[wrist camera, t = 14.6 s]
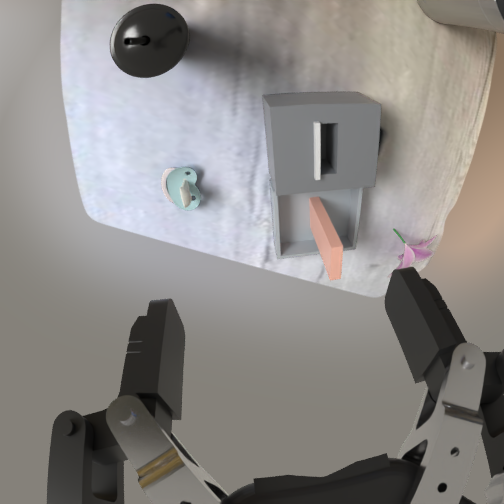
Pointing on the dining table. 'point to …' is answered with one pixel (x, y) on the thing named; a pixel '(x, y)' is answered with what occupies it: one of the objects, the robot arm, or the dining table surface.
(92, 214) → the dining table surface
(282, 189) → the dispenser
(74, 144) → the dining table surface
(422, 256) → the lily
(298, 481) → the robot arm
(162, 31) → the drinking cup
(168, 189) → the pacifier
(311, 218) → the tall pink plank
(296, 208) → the bin
